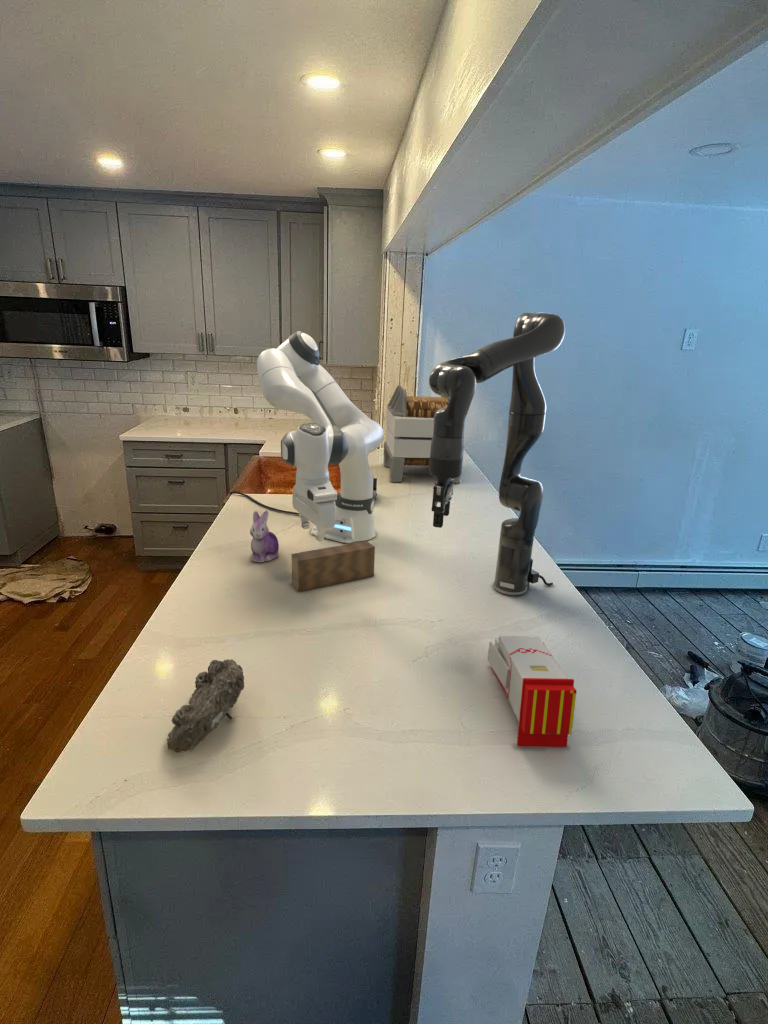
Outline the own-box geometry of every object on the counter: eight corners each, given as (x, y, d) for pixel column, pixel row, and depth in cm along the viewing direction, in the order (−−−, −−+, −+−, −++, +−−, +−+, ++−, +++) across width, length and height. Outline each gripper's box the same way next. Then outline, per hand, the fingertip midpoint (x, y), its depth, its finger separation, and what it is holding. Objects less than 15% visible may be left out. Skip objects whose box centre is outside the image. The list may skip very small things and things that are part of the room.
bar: (298, 591, 157) (298, 561, 153) (291, 583, 161) (291, 553, 158) (373, 575, 168) (375, 546, 165) (365, 568, 172) (366, 540, 169)
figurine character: (377, 508, 228) (376, 492, 242) (377, 490, 225) (377, 476, 238) (360, 507, 228) (361, 492, 242) (360, 490, 225) (361, 475, 238)
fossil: (192, 660, 117) (244, 628, 112) (224, 691, 120) (276, 661, 115) (142, 746, 98) (202, 712, 93) (182, 779, 101) (242, 748, 96)
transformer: (382, 463, 289) (386, 382, 275) (445, 464, 293) (451, 384, 279) (390, 482, 257) (394, 392, 243) (460, 483, 261) (468, 394, 247)
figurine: (254, 565, 170) (252, 519, 165) (245, 552, 179) (243, 508, 174) (284, 560, 175) (283, 515, 169) (274, 548, 183) (273, 504, 178)
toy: (536, 619, 129) (586, 686, 99) (531, 673, 131) (578, 754, 102) (483, 618, 128) (517, 685, 99) (479, 672, 131) (511, 753, 102)
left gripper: (286, 476, 157) (287, 523, 162) (317, 498, 141) (317, 549, 145) (307, 474, 160) (307, 519, 165) (340, 495, 144) (339, 545, 149)
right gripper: (458, 463, 122) (451, 533, 128) (467, 449, 135) (461, 513, 140) (423, 459, 124) (419, 528, 129) (436, 446, 137) (431, 509, 142)
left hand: (312, 534), depth 155 cm, fingers open, 8 cm apart
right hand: (441, 520), depth 135 cm, fingers open, 8 cm apart
